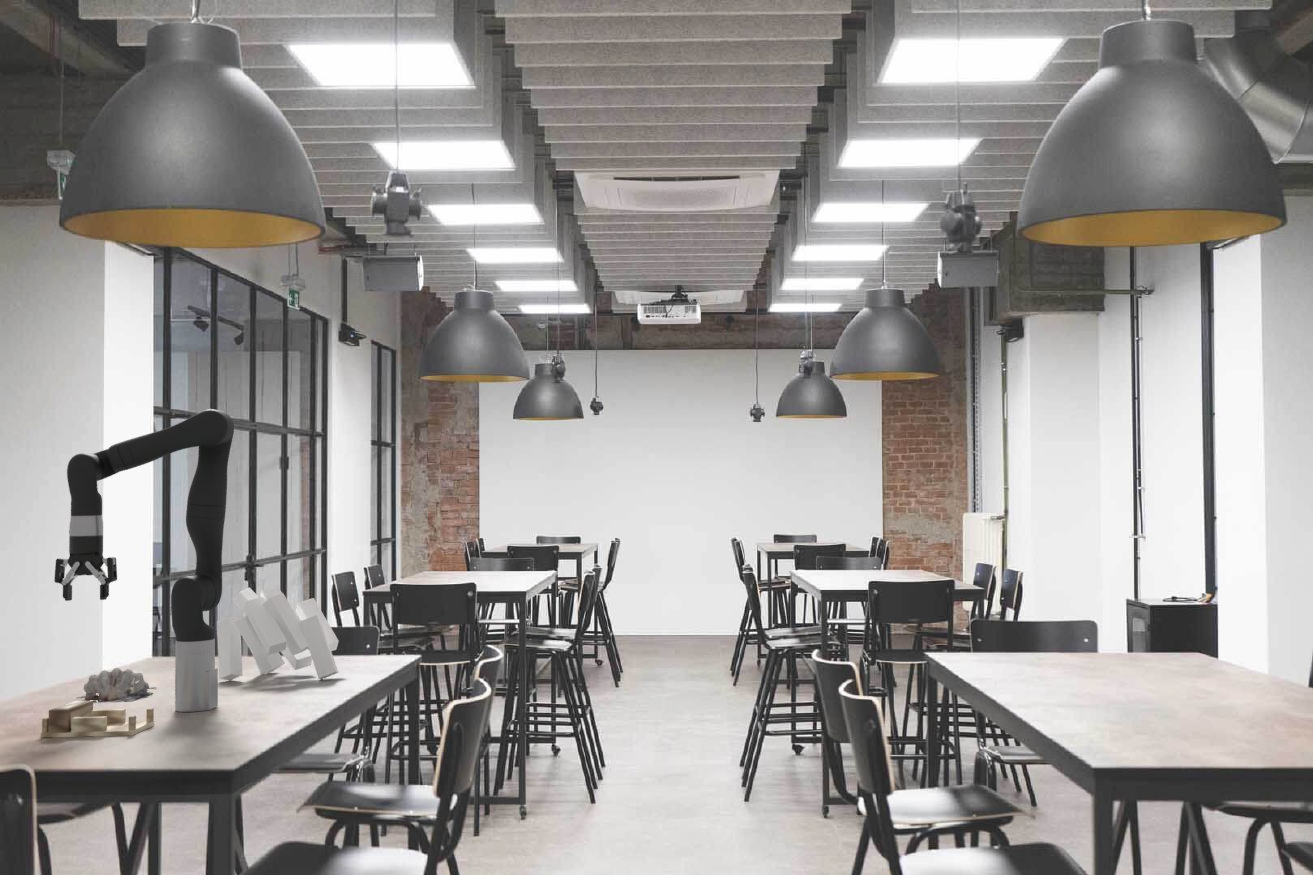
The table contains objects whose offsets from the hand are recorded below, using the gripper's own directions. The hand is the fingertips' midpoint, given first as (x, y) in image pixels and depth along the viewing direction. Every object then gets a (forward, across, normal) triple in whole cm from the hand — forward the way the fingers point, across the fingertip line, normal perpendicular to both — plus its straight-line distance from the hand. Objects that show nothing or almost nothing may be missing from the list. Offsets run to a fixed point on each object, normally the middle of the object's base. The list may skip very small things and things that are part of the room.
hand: (85, 600), depth 285 cm
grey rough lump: (+29, +6, -32) cm, 43 cm away
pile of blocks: (+28, -30, -57) cm, 70 cm away
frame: (+27, -7, +22) cm, 36 cm away
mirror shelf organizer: (+28, -14, +22) cm, 38 cm away
